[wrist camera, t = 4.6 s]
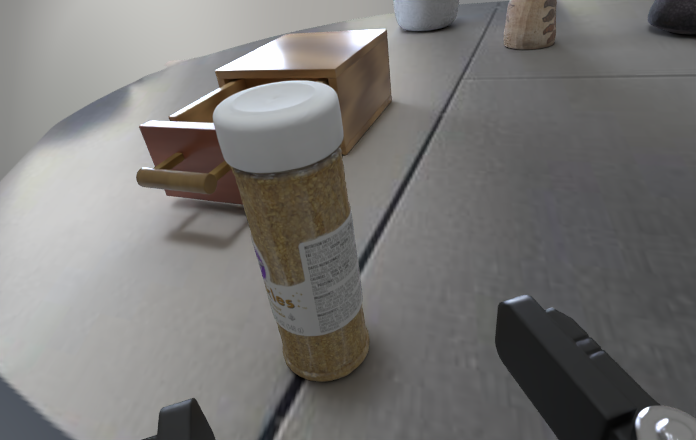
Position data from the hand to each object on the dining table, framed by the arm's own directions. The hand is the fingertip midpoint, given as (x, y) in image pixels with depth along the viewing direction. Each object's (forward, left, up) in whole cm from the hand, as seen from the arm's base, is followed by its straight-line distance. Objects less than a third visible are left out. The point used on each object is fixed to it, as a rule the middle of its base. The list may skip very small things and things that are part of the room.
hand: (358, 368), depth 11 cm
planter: (-18, +83, -9) cm, 85 cm away
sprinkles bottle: (-5, +7, -9) cm, 12 cm away
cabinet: (-19, +36, -9) cm, 41 cm away
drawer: (-19, +22, -8) cm, 30 cm away
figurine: (+1, +68, -9) cm, 68 cm away
